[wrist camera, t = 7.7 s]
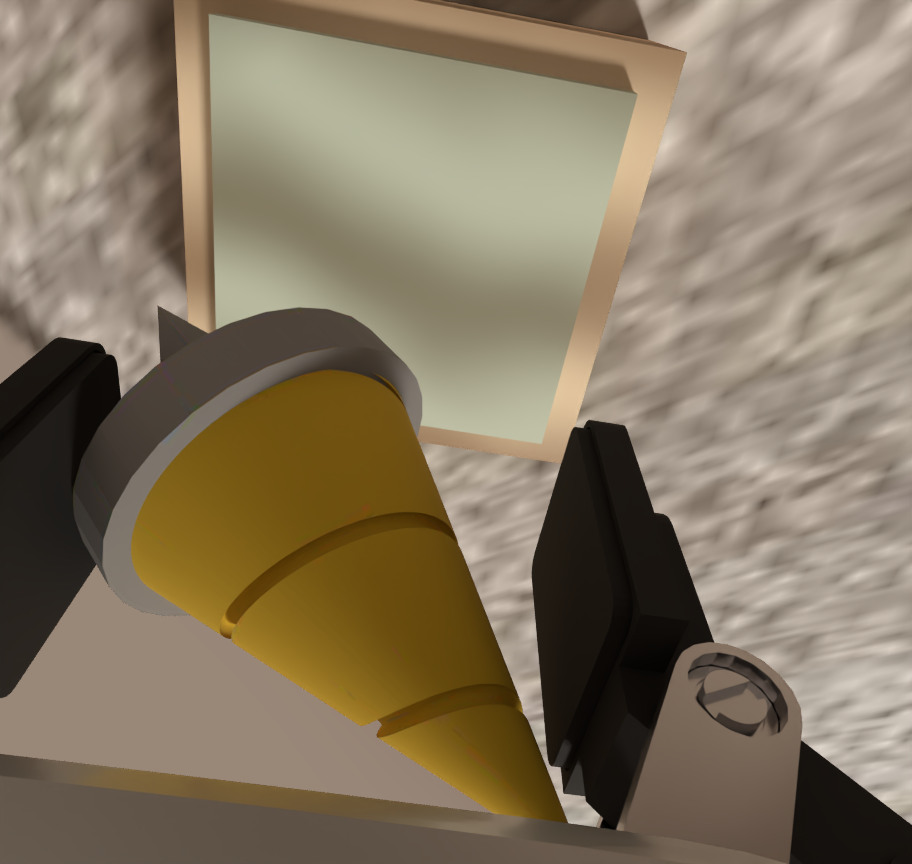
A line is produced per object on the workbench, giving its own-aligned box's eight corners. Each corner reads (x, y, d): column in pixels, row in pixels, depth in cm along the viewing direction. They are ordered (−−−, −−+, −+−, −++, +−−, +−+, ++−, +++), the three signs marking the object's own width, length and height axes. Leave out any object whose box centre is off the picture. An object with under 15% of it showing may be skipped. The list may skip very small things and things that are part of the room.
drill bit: (257, 147, 11) (808, 636, 7) (326, 361, 15) (680, 736, 11) (-91, 322, 9) (338, 1135, 5) (100, 505, 14) (411, 1012, 9)
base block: (230, -41, 20) (161, -47, 15) (649, 40, 20) (693, 55, 16) (233, 346, 26) (185, 416, 22) (552, 397, 27) (565, 474, 22)
